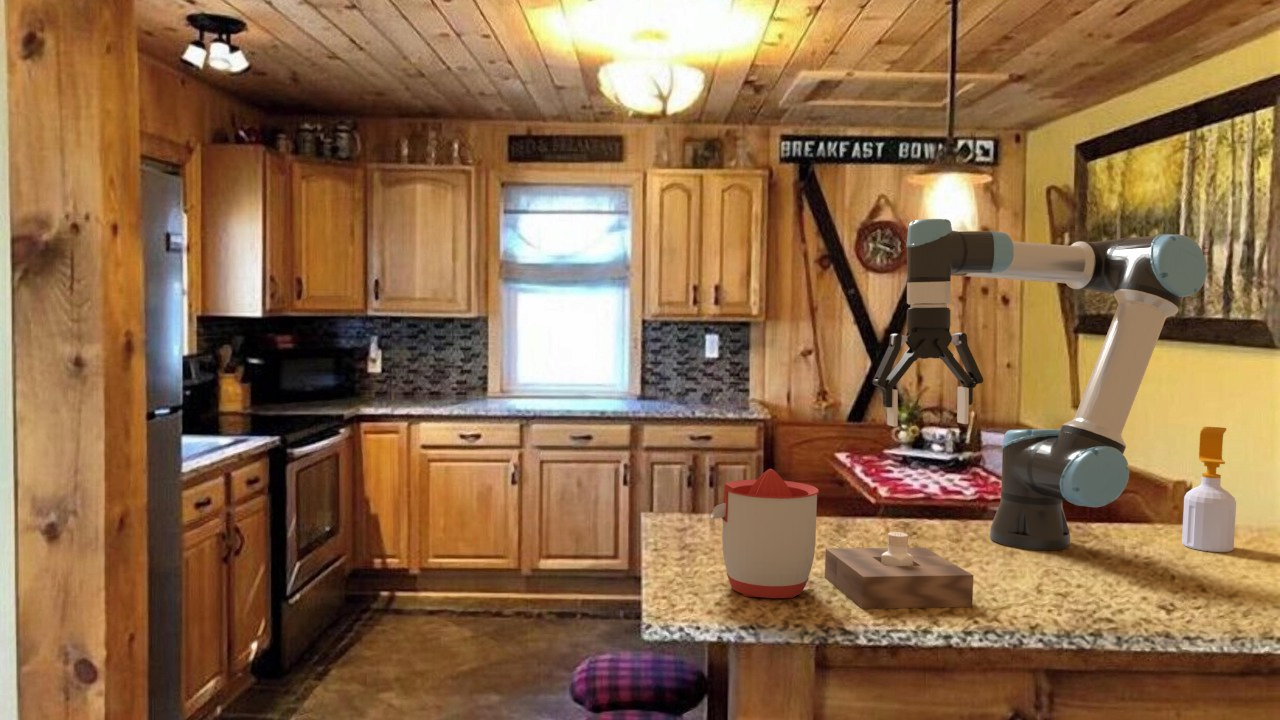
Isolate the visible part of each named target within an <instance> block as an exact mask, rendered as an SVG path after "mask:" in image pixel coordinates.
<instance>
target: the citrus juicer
mask: <svg viewBox="0 0 1280 720" xmlns="http://www.w3.org/2000/svg"><path fill="white" fill-rule="evenodd" d="M723 491H724V493H723V503H721V504H717V505H716V506H714V507H713V510H712V512H711V514H710V519H711V520H714V519H721V520H722V532H721V535H722V537H721V538H722V540H721V542H722V553H723V554H722V555H723V561H724V566H725V569H726V577H727V578H728V581H729V584H730V586H731V588H732V589H733V590H734V591H736V592H737V593H740V594H742V595H743V596H744V597H749V598H753V597H756V598H765V599H780V598H781V599H793V598H795V597H796V596H799V595H801V594H802V593H803V591H804V590H805V588H806V585H807V583H808V582H809V576H810V573H811V570H812V568H813V567H812V566H813V562H814V557H815V553H816V552H815V551H816V541H817V539H816V536H817V535H816V533H817V506H818V505H817V504H818V503H817V502H818V494H819V493H820V491H819V489H818V488H817V487H816V486H814V485H810V484H806V483H803V482H795V481H789V480H784V479H783V478H782V477H781V476H780V474H778V472H777V471H776V470H774V469H772V468H769V469H766V470H765V472H763V473H762V474H761V475H760V476H759V477H758V479H757V478H756V479H742V480H741V479H739V480H733V481H728V482H726V483H724V490H723Z"/></svg>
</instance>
